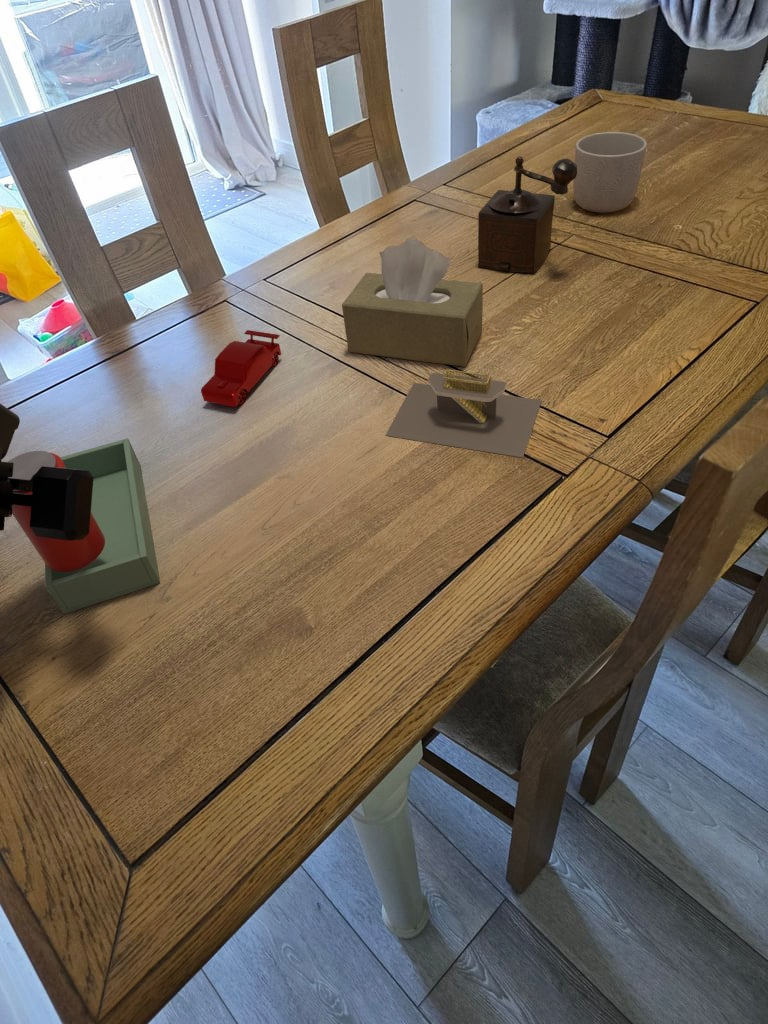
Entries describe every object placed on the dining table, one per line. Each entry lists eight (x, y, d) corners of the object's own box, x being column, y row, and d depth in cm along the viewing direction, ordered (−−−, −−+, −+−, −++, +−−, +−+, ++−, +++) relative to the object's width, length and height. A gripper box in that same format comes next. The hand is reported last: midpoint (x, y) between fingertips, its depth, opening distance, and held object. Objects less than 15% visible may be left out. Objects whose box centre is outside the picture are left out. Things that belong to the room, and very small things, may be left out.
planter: (648, 211, 130) (659, 148, 122) (585, 222, 128) (593, 160, 121) (618, 187, 138) (627, 127, 130) (559, 198, 137) (565, 138, 129)
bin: (63, 614, 74) (45, 587, 71) (59, 488, 89) (43, 461, 85) (160, 583, 76) (146, 555, 73) (140, 465, 91) (128, 437, 87)
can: (77, 579, 71) (26, 498, 63) (31, 563, 74) (-24, 483, 65) (117, 535, 75) (74, 454, 67) (72, 521, 77) (25, 441, 69)
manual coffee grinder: (474, 269, 120) (474, 158, 107) (495, 241, 126) (498, 134, 114) (563, 281, 114) (575, 166, 101) (580, 251, 121) (593, 139, 108)
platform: (523, 457, 85) (526, 415, 80) (385, 435, 90) (380, 394, 86) (541, 400, 93) (545, 358, 88) (413, 382, 98) (411, 342, 93)
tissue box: (484, 332, 106) (485, 229, 94) (467, 368, 99) (466, 262, 88) (369, 319, 111) (357, 220, 100) (346, 352, 105) (331, 251, 94)
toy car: (253, 352, 107) (246, 324, 104) (285, 358, 105) (278, 329, 102) (204, 406, 98) (194, 377, 95) (237, 412, 97) (229, 383, 93)
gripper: (31, 401, 53) (145, 423, 68) (-164, 386, 57) (-16, 411, 72) (20, 545, 53) (135, 536, 69) (-173, 521, 58) (-24, 517, 73)
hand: (56, 496), depth 71 cm, fingers closed on can, 6 cm apart
